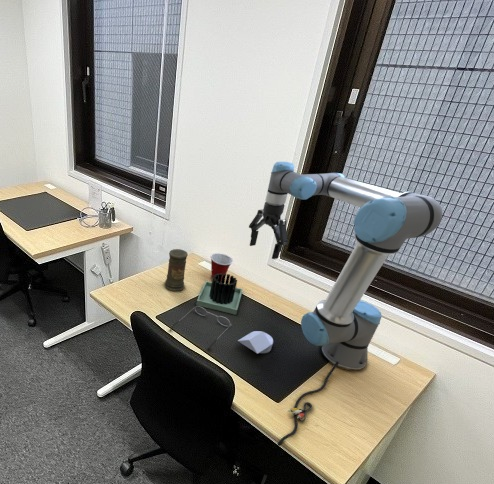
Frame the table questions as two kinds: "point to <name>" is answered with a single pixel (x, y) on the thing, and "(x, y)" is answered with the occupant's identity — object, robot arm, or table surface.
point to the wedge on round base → (257, 342)
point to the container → (176, 270)
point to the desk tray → (208, 303)
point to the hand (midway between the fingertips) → (263, 251)
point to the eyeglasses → (205, 315)
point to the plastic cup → (220, 263)
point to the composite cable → (301, 411)
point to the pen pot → (222, 288)
